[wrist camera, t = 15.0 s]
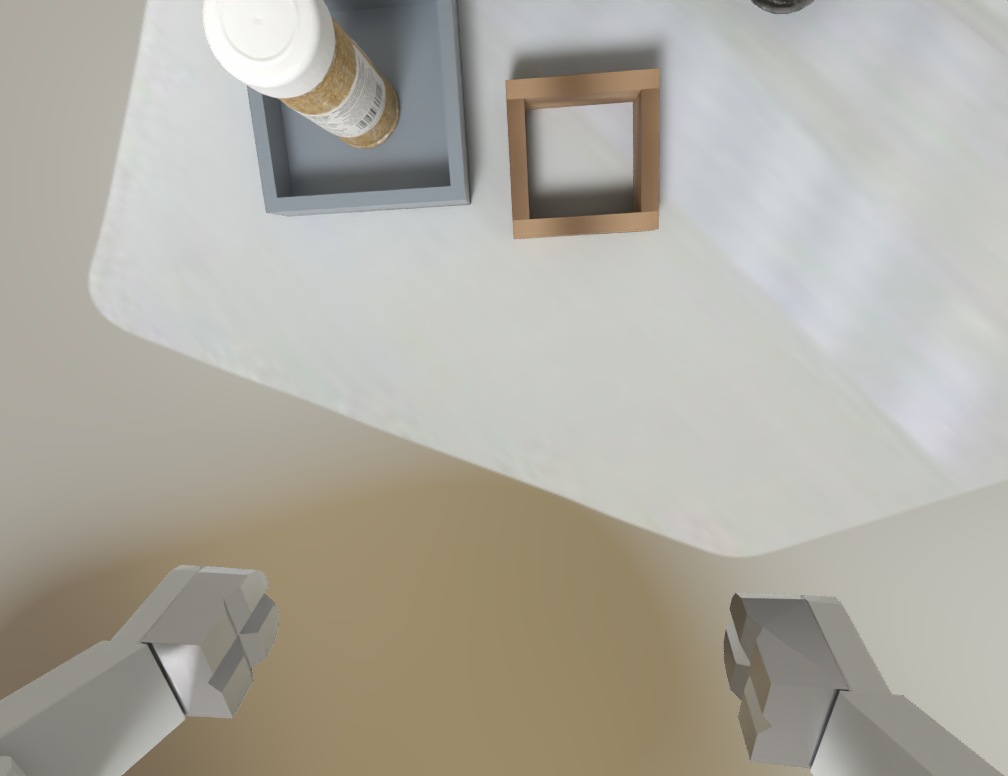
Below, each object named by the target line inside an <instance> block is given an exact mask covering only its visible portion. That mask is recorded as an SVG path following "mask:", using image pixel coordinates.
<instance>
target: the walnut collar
mask: <svg viewBox="0 0 1008 776" xmlns="http://www.w3.org/2000/svg"><path fill="white" fill-rule="evenodd" d="M506 100H507V119H508V138H509V158H510V177H511V196H512V215H513V235H514V239H524V238H540V237H557V236H573V235H589V234H606V233H622V232H638V231H651V230H655V229H659V100H660V68H656V69H643V70H630V71H618V72H605V73H592V74H579V75H566V76H553V77H541V78H528V79H515V80H506ZM622 102H633V193H634V213H622V214H606V215H590V216H575V217H559V218H543V219H529V197H528V175H527V153H526V130H525V110H529V109H542V108H555V107H569V106H582V105H596V104H609V103H622Z"/></svg>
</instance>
